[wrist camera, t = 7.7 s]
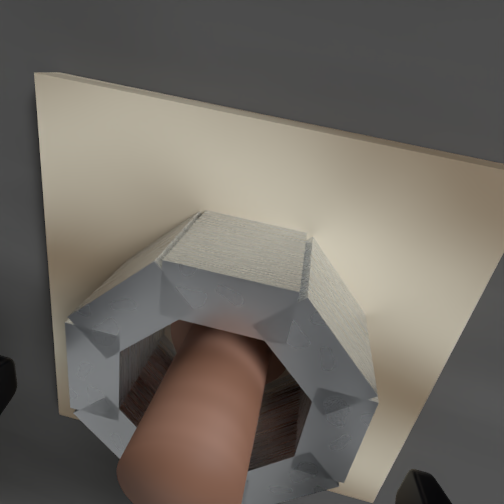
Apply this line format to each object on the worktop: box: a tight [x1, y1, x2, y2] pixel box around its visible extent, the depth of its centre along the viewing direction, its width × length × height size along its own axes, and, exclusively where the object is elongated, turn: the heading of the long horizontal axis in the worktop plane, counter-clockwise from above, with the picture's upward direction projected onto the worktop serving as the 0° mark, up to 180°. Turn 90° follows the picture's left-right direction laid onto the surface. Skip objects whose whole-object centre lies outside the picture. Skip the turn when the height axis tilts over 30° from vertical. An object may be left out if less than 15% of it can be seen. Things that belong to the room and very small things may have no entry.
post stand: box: [34, 72, 504, 504], centre depth 10 cm, size 12×12×6 cm
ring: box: [65, 210, 379, 504], centre depth 10 cm, size 7×7×3 cm
